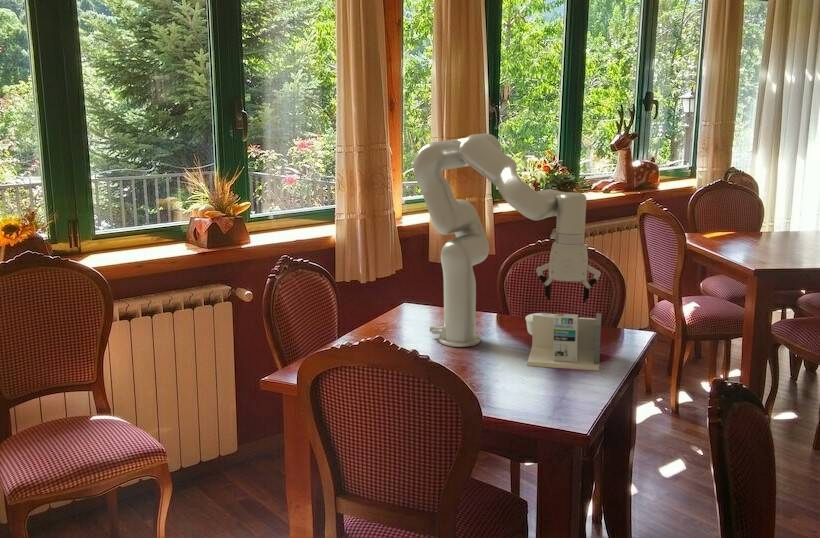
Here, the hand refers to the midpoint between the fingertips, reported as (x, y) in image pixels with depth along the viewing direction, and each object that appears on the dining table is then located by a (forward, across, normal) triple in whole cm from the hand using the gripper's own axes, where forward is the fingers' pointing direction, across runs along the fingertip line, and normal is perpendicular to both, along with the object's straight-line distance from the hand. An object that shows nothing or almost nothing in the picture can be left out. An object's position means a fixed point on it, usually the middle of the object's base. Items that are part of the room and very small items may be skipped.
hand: (566, 300), depth 218 cm
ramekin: (+18, -7, +24) cm, 31 cm away
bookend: (+16, +9, 0) cm, 18 cm away
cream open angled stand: (+17, 0, 0) cm, 17 cm away
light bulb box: (+16, 0, 0) cm, 16 cm away
